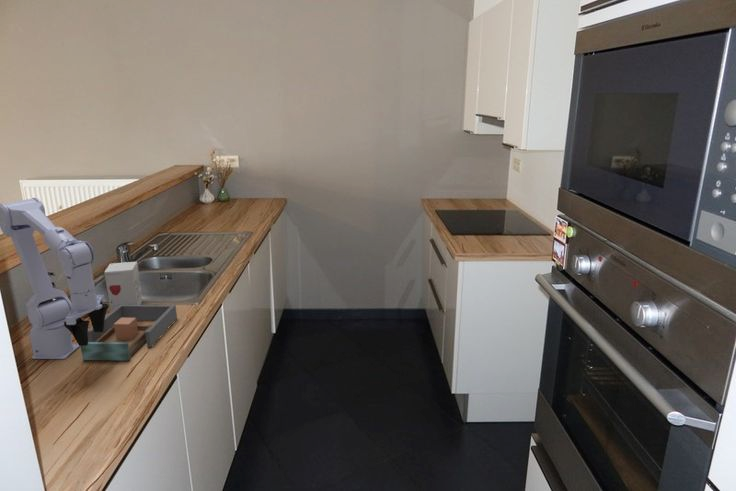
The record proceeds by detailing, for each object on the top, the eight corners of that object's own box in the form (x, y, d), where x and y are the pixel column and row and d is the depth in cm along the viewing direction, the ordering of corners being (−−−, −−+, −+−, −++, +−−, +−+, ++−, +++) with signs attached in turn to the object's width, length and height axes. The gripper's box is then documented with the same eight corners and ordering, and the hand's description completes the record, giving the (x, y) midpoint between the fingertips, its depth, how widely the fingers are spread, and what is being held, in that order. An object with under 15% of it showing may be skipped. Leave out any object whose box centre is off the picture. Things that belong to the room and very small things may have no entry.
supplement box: (110, 314, 175) (102, 271, 170) (115, 303, 183) (109, 263, 178) (139, 311, 177) (132, 269, 172) (143, 300, 185) (137, 260, 180)
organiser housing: (89, 347, 152) (86, 331, 151) (121, 318, 171) (119, 304, 169) (151, 347, 152) (149, 332, 150) (177, 319, 170) (175, 305, 168)
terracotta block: (116, 339, 154) (113, 324, 152) (123, 332, 158) (121, 317, 157) (131, 339, 154) (128, 324, 152) (138, 332, 158) (136, 317, 156)
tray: (82, 360, 144) (79, 343, 143) (114, 332, 161) (111, 317, 159) (129, 360, 144) (126, 344, 142) (155, 332, 160) (153, 317, 159)
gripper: (82, 301, 126) (91, 351, 130) (112, 279, 140) (119, 326, 144) (53, 301, 126) (63, 351, 130) (86, 279, 140) (94, 325, 144)
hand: (91, 338), depth 137 cm, fingers open, 7 cm apart
